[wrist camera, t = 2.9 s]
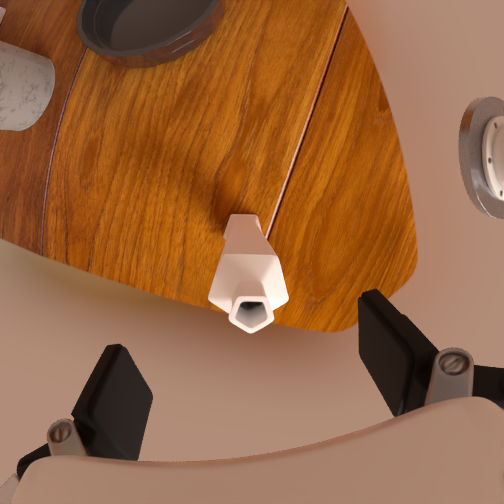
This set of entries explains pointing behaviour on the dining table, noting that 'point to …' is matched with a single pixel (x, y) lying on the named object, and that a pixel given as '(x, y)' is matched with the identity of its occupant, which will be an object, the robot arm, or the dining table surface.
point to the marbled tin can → (23, 86)
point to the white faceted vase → (248, 275)
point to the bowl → (146, 28)
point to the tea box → (2, 13)
